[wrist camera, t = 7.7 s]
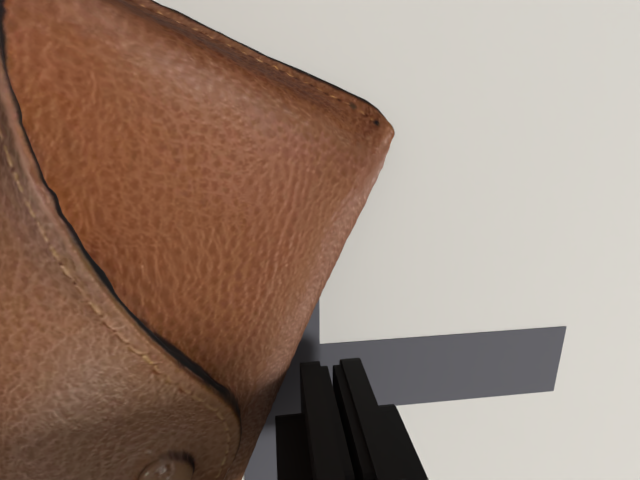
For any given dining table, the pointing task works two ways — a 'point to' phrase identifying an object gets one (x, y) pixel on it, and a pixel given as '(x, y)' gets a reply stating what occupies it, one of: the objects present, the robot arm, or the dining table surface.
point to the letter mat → (481, 226)
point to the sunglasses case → (160, 236)
